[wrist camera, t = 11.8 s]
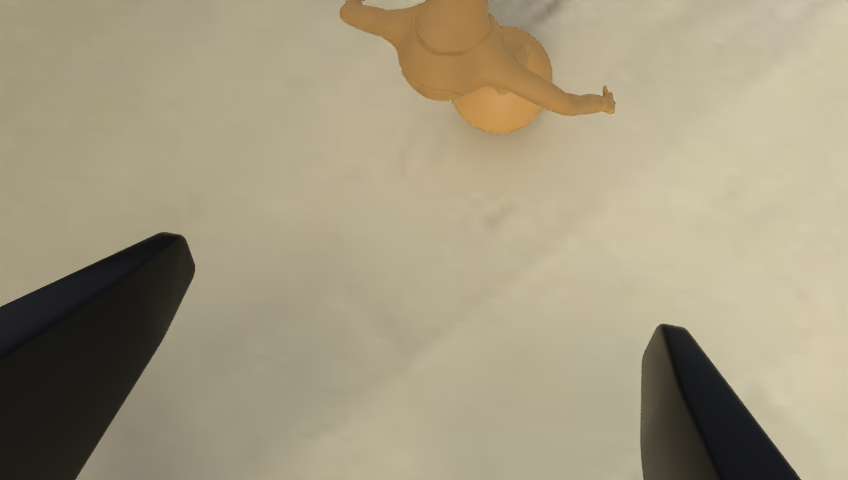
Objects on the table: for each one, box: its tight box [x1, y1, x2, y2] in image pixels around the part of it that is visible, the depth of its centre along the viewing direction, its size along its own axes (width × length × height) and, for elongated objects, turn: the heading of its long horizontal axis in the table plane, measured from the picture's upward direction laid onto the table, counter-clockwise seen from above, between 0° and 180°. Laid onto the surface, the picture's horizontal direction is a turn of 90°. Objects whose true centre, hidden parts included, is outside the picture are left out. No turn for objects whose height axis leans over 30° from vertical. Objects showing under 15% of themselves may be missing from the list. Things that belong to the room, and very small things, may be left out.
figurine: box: [340, 0, 615, 133], centre depth 16 cm, size 8×6×12 cm
